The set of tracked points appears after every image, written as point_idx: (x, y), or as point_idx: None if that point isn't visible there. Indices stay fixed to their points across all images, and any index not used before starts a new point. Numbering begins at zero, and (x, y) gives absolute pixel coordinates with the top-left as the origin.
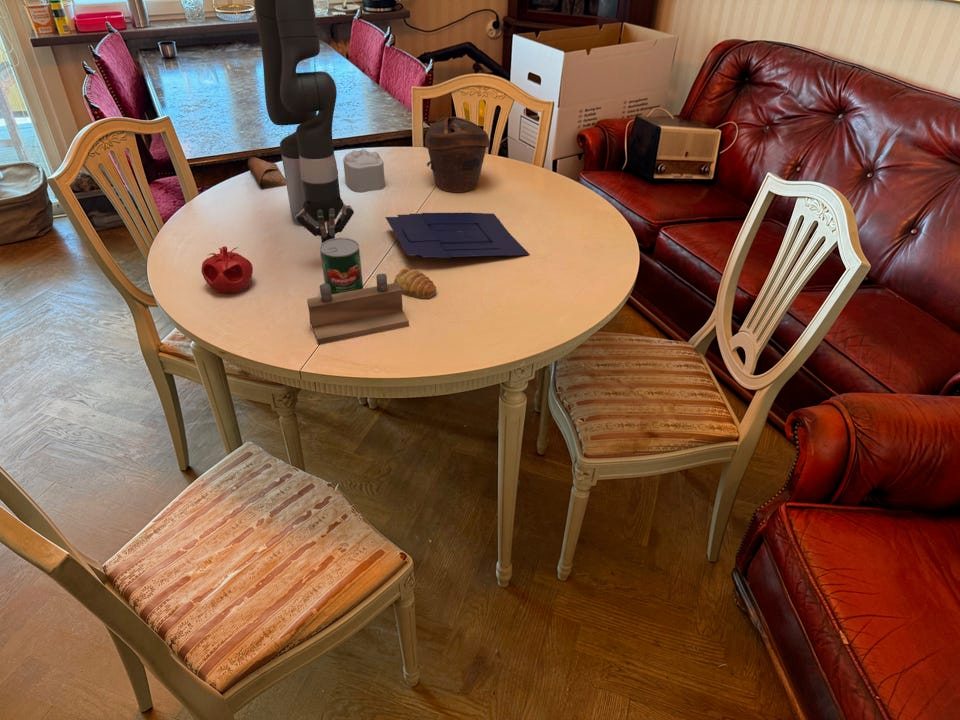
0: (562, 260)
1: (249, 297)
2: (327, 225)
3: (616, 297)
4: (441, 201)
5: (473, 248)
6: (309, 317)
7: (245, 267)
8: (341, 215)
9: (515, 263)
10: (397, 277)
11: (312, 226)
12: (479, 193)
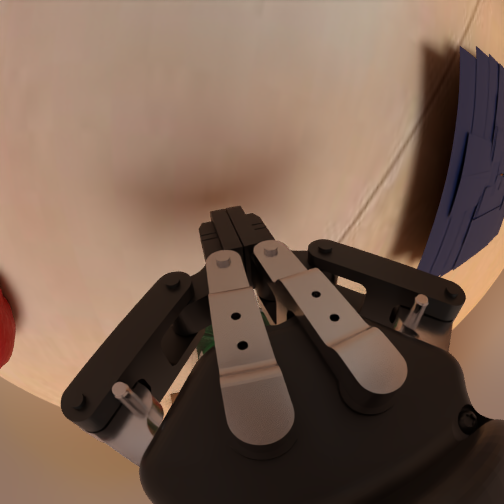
0: (499, 248)
1: (34, 338)
2: (270, 284)
3: (472, 308)
4: (500, 6)
5: (482, 232)
6: (172, 403)
7: (3, 363)
8: (387, 290)
9: (481, 250)
10: None
11: (179, 360)
12: None
